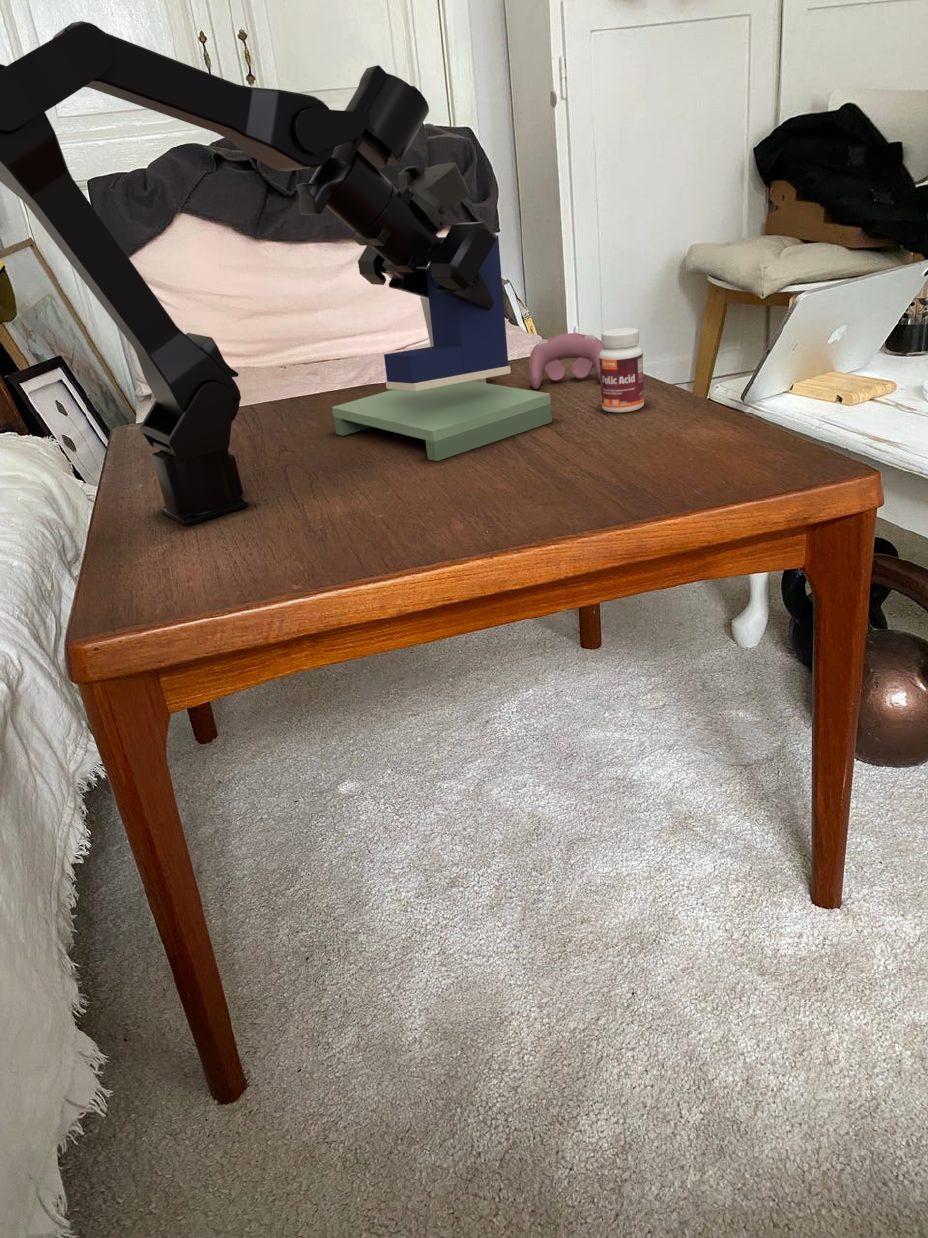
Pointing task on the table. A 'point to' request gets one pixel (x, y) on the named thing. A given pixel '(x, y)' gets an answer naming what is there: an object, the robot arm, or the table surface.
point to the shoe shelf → (448, 415)
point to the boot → (456, 339)
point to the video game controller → (564, 357)
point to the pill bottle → (621, 371)
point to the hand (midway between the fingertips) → (476, 304)
